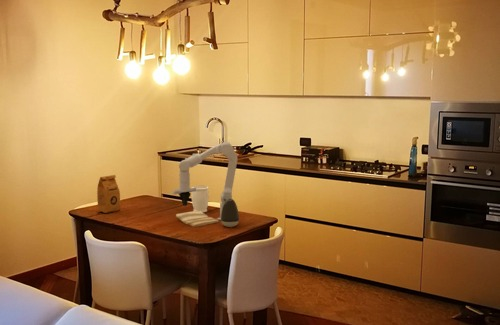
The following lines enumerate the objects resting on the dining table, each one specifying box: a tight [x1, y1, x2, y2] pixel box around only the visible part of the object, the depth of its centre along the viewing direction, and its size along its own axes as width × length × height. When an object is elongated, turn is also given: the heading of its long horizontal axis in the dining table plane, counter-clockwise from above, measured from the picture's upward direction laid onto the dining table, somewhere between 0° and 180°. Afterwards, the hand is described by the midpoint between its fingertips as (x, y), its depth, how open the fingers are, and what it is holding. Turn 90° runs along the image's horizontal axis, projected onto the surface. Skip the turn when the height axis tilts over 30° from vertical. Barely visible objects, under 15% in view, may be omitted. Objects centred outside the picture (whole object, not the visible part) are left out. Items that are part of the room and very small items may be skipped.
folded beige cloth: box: [185, 216, 220, 228], centre depth 290 cm, size 9×16×1 cm, turn 130°
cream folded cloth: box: [175, 210, 209, 224], centre depth 297 cm, size 9×16×1 cm, turn 131°
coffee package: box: [96, 174, 122, 214], centre depth 314 cm, size 10×12×22 cm
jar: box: [190, 185, 210, 213], centre depth 316 cm, size 11×10×15 cm
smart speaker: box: [220, 198, 240, 228], centre depth 283 cm, size 10×10×15 cm
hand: (184, 205), depth 295 cm, fingers closed
